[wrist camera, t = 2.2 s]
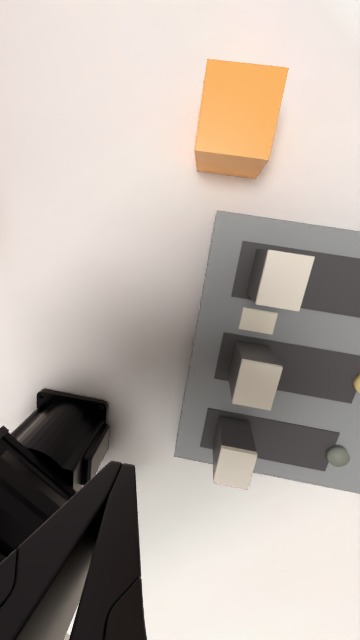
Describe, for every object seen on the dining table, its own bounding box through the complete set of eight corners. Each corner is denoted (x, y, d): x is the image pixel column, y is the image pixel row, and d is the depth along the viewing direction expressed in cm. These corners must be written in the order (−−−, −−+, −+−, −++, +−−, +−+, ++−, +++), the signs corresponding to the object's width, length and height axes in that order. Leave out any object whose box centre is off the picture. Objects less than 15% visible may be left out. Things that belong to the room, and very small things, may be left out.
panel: (175, 443, 24) (172, 467, 21) (216, 213, 18) (217, 207, 16) (403, 489, 23) (428, 519, 20) (521, 258, 17) (577, 260, 15)
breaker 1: (246, 293, 18) (255, 304, 15) (256, 249, 17) (269, 249, 14) (281, 299, 18) (299, 311, 14) (293, 254, 17) (314, 256, 14)
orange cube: (197, 171, 18) (194, 150, 14) (207, 102, 17) (207, 59, 13) (255, 179, 18) (268, 159, 14) (269, 109, 16) (288, 67, 13)
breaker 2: (228, 377, 20) (232, 403, 16) (236, 340, 19) (242, 360, 16) (259, 382, 20) (270, 410, 16) (269, 346, 19) (282, 367, 15)
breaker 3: (212, 446, 22) (213, 482, 18) (219, 415, 21) (221, 448, 17) (241, 451, 21) (247, 489, 18) (249, 421, 21) (257, 455, 17)
